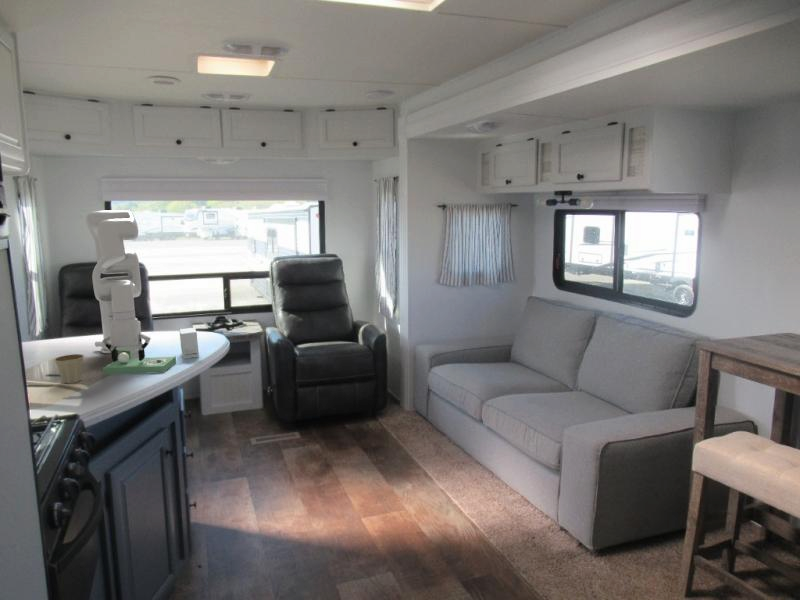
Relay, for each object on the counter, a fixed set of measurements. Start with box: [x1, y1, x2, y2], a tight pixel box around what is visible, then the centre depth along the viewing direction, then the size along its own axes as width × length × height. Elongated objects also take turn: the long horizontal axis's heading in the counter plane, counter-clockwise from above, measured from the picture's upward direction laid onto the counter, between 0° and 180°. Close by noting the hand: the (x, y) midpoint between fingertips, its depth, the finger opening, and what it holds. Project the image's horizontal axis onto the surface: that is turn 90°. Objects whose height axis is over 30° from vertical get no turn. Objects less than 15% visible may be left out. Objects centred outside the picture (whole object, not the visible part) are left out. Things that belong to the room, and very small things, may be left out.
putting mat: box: [102, 356, 177, 376], centre depth 232 cm, size 22×14×2 cm, turn 93°
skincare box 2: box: [179, 327, 200, 359], centre depth 251 cm, size 10×6×10 cm, turn 22°
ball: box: [118, 353, 129, 363], centre depth 232 cm, size 4×4×4 cm
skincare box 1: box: [116, 320, 143, 358], centre depth 247 cm, size 8×7×16 cm
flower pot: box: [53, 353, 85, 384], centre depth 217 cm, size 9×9×9 cm
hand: (128, 360), depth 232 cm, fingers open, 9 cm apart
